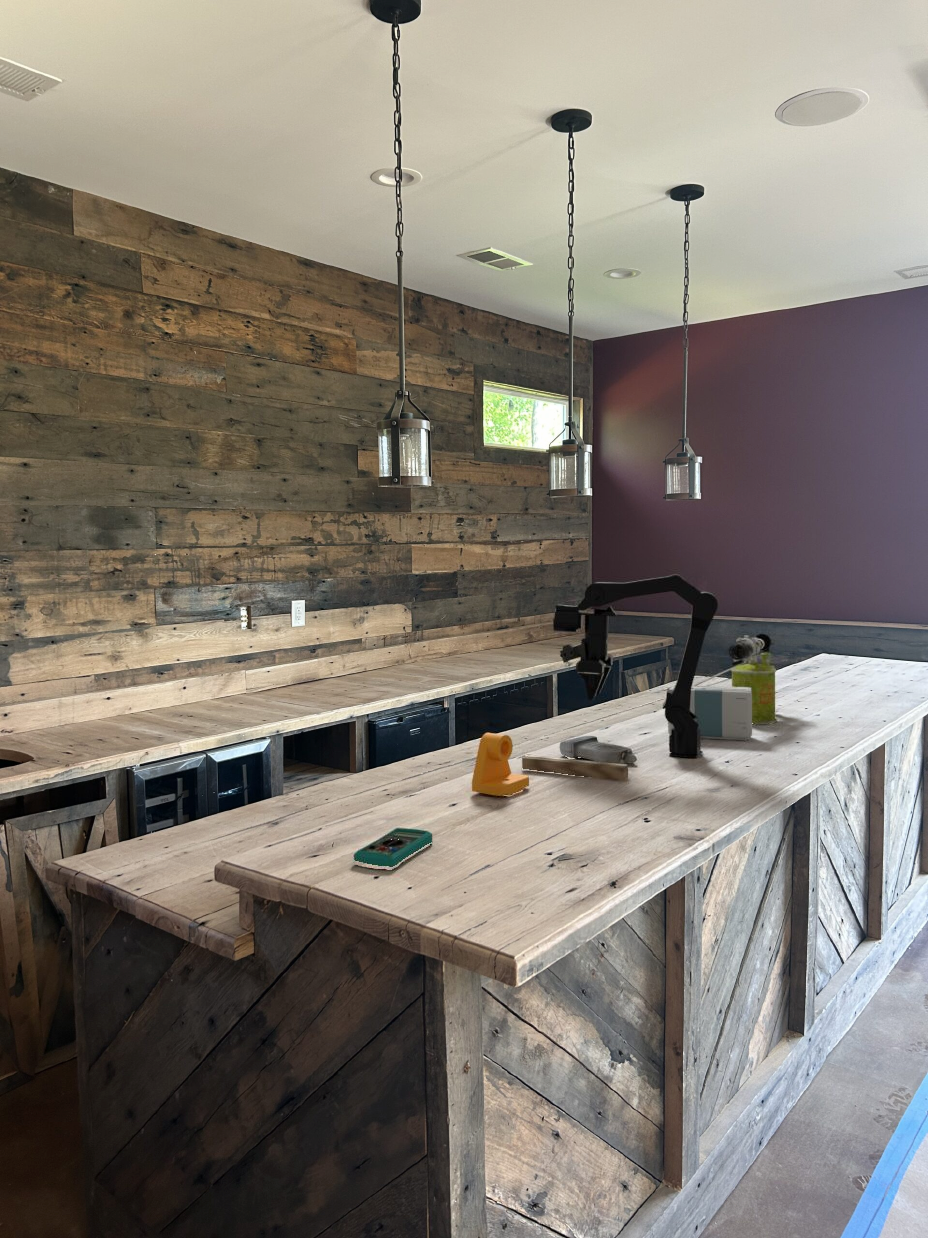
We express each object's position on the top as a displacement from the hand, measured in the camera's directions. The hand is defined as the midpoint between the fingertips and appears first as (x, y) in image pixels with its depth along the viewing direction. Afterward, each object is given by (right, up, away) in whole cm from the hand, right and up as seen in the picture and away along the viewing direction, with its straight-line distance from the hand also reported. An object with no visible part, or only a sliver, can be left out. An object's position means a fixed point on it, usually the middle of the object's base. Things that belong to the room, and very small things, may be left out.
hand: (593, 697), depth 222 cm
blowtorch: (+51, -10, +38) cm, 64 cm away
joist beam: (-7, -15, -21) cm, 27 cm away
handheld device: (+1, -15, -6) cm, 16 cm away
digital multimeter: (-43, -20, -72) cm, 86 cm away
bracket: (-24, -17, -34) cm, 44 cm away
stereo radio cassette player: (+33, -12, +16) cm, 38 cm away
